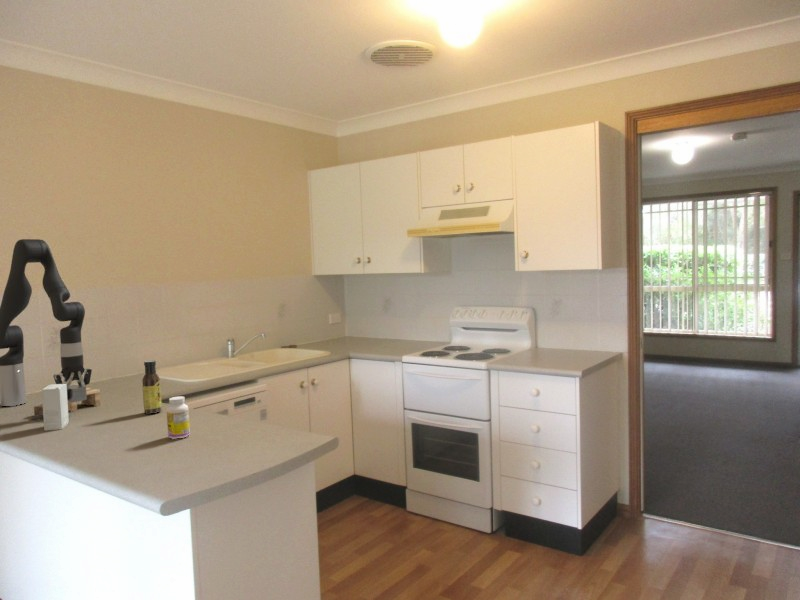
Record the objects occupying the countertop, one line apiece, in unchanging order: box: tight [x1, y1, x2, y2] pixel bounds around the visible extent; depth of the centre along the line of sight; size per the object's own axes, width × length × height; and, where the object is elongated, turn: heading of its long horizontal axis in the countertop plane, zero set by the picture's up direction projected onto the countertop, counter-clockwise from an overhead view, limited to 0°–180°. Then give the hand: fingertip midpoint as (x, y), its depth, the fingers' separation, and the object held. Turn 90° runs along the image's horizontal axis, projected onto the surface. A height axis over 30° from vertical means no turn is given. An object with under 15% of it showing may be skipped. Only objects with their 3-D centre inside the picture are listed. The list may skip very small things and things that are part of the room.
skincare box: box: [41, 383, 69, 431], centre depth 208 cm, size 8×6×15 cm
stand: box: [68, 387, 101, 413], centre depth 238 cm, size 10×12×6 cm
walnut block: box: [33, 403, 43, 415], centre depth 227 cm, size 4×4×4 cm
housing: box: [68, 384, 87, 403], centre depth 227 cm, size 8×5×5 cm, turn 59°
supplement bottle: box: [166, 396, 191, 439], centre depth 190 cm, size 7×7×13 cm
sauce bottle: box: [141, 360, 163, 415], centre depth 224 cm, size 6×6×20 cm
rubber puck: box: [31, 414, 44, 421], centre depth 222 cm, size 4×4×2 cm
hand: (74, 397), depth 227 cm, fingers closed on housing, 4 cm apart
